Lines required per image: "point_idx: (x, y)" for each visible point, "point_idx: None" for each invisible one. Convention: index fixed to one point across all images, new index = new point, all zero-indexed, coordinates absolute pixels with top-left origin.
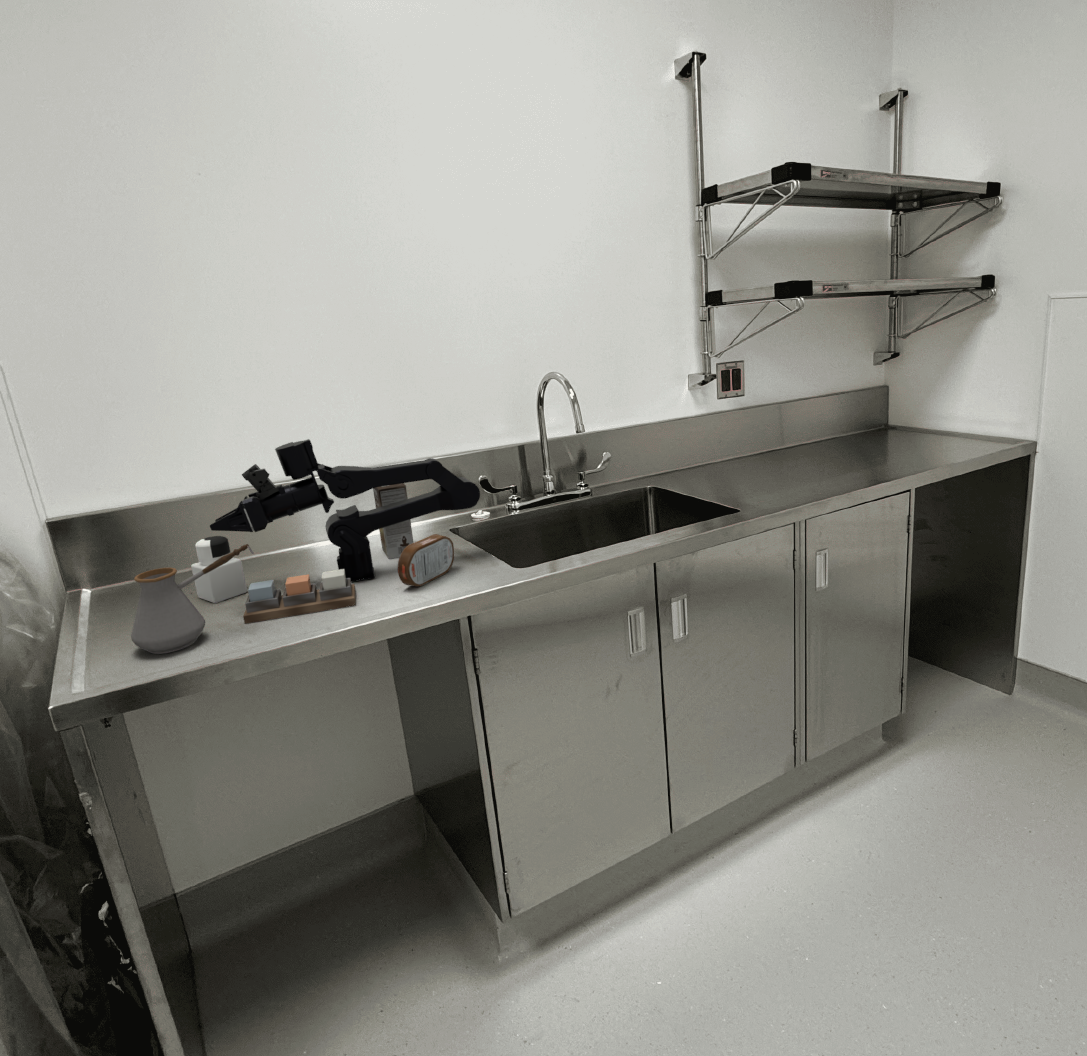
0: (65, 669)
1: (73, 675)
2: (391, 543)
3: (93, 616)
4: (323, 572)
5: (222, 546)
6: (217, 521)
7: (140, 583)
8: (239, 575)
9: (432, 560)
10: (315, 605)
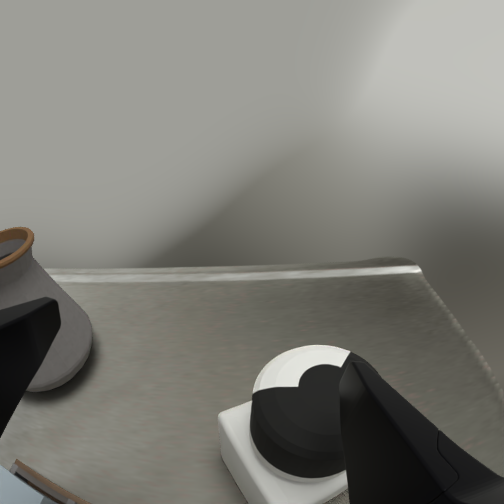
0: (96, 269)
1: (70, 274)
2: None
3: (296, 282)
4: None
5: (267, 444)
6: (5, 309)
7: (5, 239)
8: None
9: None
10: None
